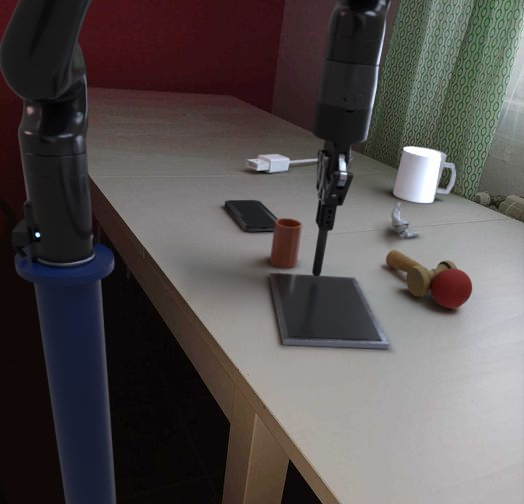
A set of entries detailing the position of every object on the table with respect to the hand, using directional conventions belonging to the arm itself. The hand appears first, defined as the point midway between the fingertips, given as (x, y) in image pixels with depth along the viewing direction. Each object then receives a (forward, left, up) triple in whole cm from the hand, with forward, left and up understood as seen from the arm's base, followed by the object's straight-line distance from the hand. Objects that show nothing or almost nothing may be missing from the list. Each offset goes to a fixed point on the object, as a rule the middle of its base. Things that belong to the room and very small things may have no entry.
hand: (323, 226), depth 80 cm
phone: (-8, +29, -10) cm, 32 cm away
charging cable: (+6, +72, -10) cm, 73 cm away
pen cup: (-4, +8, -10) cm, 13 cm away
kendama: (+18, +1, -10) cm, 20 cm away
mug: (+35, +53, -10) cm, 64 cm away
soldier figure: (+22, +27, -10) cm, 36 cm away
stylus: (0, 0, -8) cm, 8 cm away
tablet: (0, -8, -10) cm, 13 cm away
